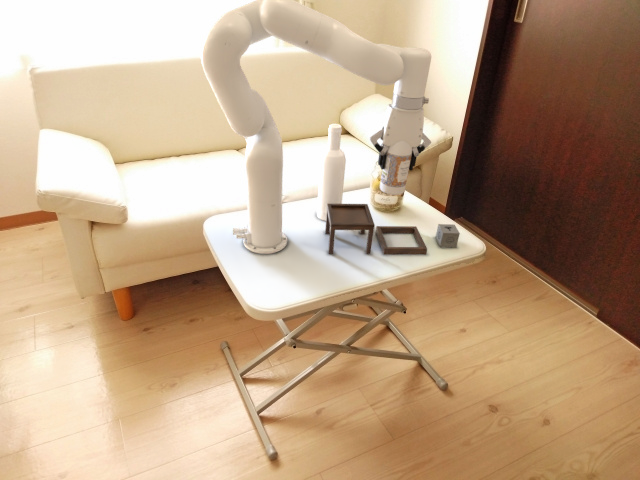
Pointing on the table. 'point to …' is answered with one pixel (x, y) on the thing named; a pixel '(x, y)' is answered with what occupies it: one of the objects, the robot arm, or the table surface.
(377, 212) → the table surface
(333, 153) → the bottle
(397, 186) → the bath foam
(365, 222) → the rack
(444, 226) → the dice cube
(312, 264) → the table surface
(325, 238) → the table surface
